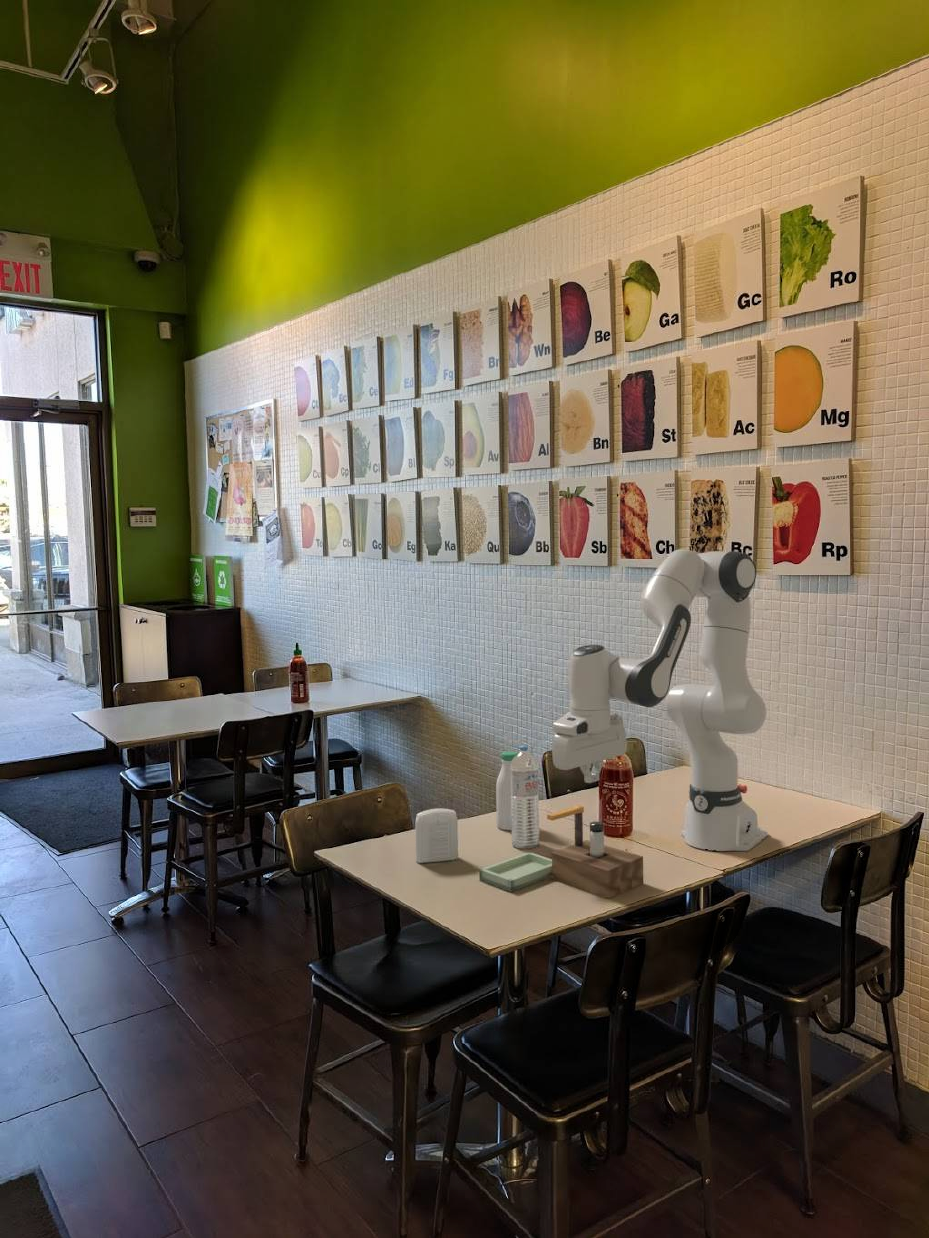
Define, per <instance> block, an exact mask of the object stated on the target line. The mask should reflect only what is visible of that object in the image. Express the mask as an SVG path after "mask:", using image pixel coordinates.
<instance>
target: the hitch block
mask: <svg viewBox="0 0 929 1238" xmlns="http://www.w3.org/2000/svg"><path fill="white" fill-rule="evenodd" d="M583 824H584V822H583V813H577V814H574V844H572V845H569V846H566V847H563V848H561V849H558V850H555V851H552V852H551V859H552V877H551V878H552V880H555V881H558V882H560V883H562V884H567V885H569V886H571V887H574V888H578V889H580V888H581V889H580V890H583V889H584V891H586V892H590V893H592V894H594V895H598V896H600V897H604V898H607V899H611V898H613V897H616V896H617V895H619V894H621V893H624V892H627V891H629V890H631V889H634V888H635V887H637V886H641V885H642V884H644V856H642V855H640V854H636V853H633V852H629V851H626V850H622V849H620V848H619V849H618V848H615V847H613V846H612V847H611V846H609V845H605V844H604V857H602V858H600V859H597V858H593V857H590V839H587V840H584V837H583V836H584V835H583V834H584V831H583V830H584V827H583Z"/></svg>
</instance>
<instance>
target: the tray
mask: <svg viewBox="0 0 929 1238" xmlns="http://www.w3.org/2000/svg"><path fill="white" fill-rule="evenodd" d="M478 872H479V873H478V874H479V877H478V878H479V881H480V882H483V883H486V884H488V885H491V886H494V887H496V888H498V889H501V890H504V891H507V892H509V893H513V892H516V891H518V890H521V889H523V888H526V887H529V886H531V885H533V884H536V883H539V882H541V881H544V880H547V879H549V878H552V858H549V857H546V856H542V855H540V854H537V853H534V852H530V851H528V852H525V853H522V854H519V855H517V856H513V857H511V858H508V859H506V860H505V859H504V860H502V861H500V862H496V863H494V864H491V865H488V866H485V867H482V868H479V869H478ZM546 878H547V879H546Z"/></svg>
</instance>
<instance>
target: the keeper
mask: <svg viewBox="0 0 929 1238" xmlns="http://www.w3.org/2000/svg"><path fill="white" fill-rule="evenodd" d="M584 812H585V807H584V806H581V805H574V806H573V807H570V808H566V809H562V810H559V811H555V812H551V813H548V814H546V819H547V820H548V821H556V820H559V819H563V818H567V817H570V816H575V814H577V813H582V814H583V813H584Z"/></svg>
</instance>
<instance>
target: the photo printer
mask: <svg viewBox="0 0 929 1238" xmlns="http://www.w3.org/2000/svg"><path fill="white" fill-rule="evenodd" d="M458 822H459V821H458V816H457V813H456V811H455V810H453V809H448V808H441V807H439V808H430V809H426V810H423V811H420V812H418V813H417V814H416V817H415V824H414V825H415V826H414V827H415V861H416V862H417V863H419V864H423V863H425V864H426V863H435V862H443V861H455V859H456V860H458V858H459V841H458V840H459V837H458V835H459V834H458V833H459V832H458V829H459V827H458V824H459V823H458Z"/></svg>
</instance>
